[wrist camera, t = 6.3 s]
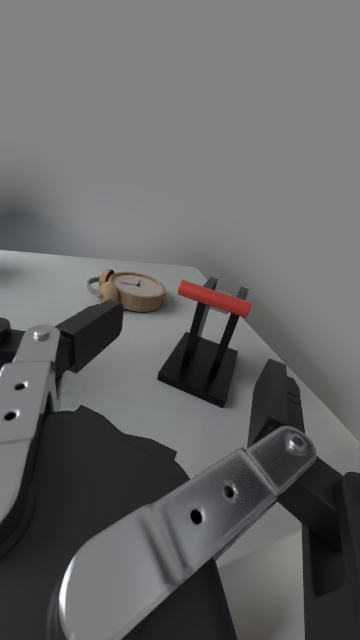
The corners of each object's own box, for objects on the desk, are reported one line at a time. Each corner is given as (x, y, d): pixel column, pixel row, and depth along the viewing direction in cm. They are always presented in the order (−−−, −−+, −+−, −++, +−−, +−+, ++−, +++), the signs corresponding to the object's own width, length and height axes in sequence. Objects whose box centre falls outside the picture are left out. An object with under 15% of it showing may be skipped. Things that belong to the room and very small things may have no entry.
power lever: (243, 326, 17) (255, 294, 16) (173, 301, 18) (183, 271, 18) (240, 317, 29) (246, 299, 29) (199, 303, 30) (205, 286, 30)
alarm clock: (173, 300, 44) (89, 283, 37) (164, 321, 46) (83, 309, 40) (160, 276, 53) (90, 259, 46) (153, 295, 55) (85, 281, 48)
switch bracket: (222, 408, 29) (261, 321, 22) (156, 379, 30) (174, 292, 24) (235, 357, 38) (265, 285, 31) (184, 337, 40) (202, 266, 33)
